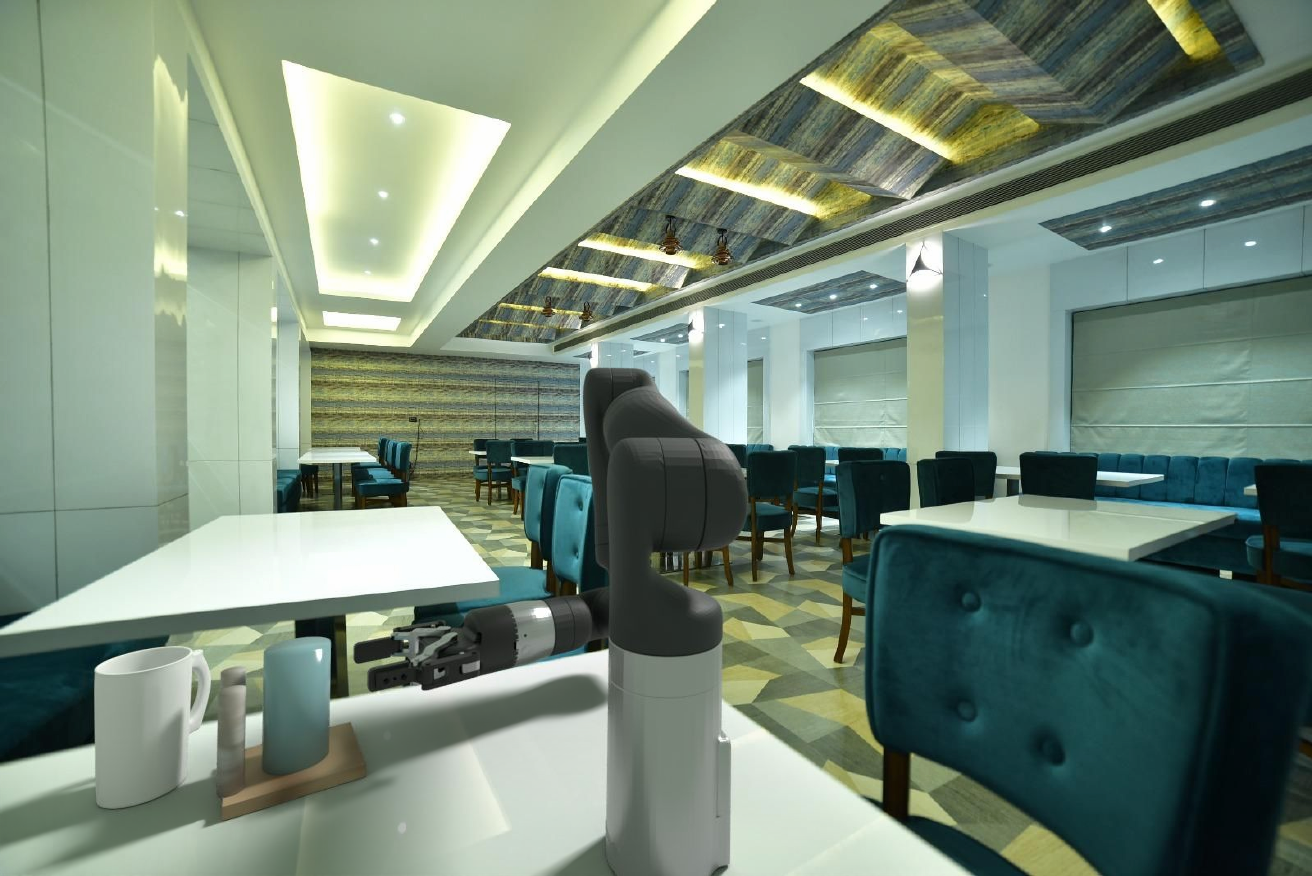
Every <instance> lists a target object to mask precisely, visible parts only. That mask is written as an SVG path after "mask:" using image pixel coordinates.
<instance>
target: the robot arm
mask: <svg viewBox="0 0 1312 876" xmlns="http://www.w3.org/2000/svg"><path fill="white" fill-rule="evenodd" d="M582 386H583V387H582V410H583V411H582V412H583V422H584V423H583V424H584V432H585V433H584V434H585V440H586V450H587V457H588V458H587V459H588V465H589V475H590V478H591V479H590V480H591V485H592V487H591V488H592V493H593V495H592V496H593V506H594V507H593V508H594V509H593V510H594V548H595V549H594V550H595V552H594V553H595V561H596V563H597V564H598V566H599V567H602V568H604V569H605V570H606V571H607V572H608V577H609V586H604V587H597V588H595V589H590V590H585V591H583V592H580V593H575V594H574V595H562V596H556V597H551V598H545V599H538V600H523V601H516V602H509V603H503V604H497V605H493V606H486V607H480V608H475V609H470V610H468V611H467V612H466V613H465V615H464V617H463V622H462V624H461V625H460V626H459V627H451V626H448V625H447V626H446V620H442V619H440V620H436V621H428V622H422V623H417V624H411V625H410V624H409V625H402V626H397V627H394V628H392V633H390V635H388V636H385V637H378V638H374V639H373V638H372V639H369V640H363V641H357V642H356V643H354V644H353V654H352V655H353V656H352V659H353V662H354V663H355V664H357V665H361V664H365V663H370V662H375V661H379V660H384V659H385V660H386V659H388V658H392V657H393V658H399V657H400V658H402V657H405V658H408V659H406V660H401V661H395V662H391V663H386V664H380V665H376V666H372V667H370V668H368V671H367V672H366V673H367V675H366V676H367V677H366V688H367V689H368V691H369V692H371V693H375V692H380V691H383V690H387V689H391V688H392V689H393V688H396V687H400V686H404V685H408V684H409V685H410V686H412V687H417V686H418V687H419V686H421V687H420V688H421V691H423V692H425V691H431V690H435V689H439V688H442V687H447V686H449V685H454V684H456V683H461V682H464V681H468V680H471V679H472V680H473V679H475V678H478V677H481V676H485V675H489V674H494V673H497V672H502V671H505V670H509V669H514V668H517V667H521V666H522V667H523V666H526V665H529V664H533V663H535V662H537V661H540V660H543V659H546V658H550V657H554V656H557V655H561V654H566V653H569V652H574V651H576V650H578V649H580V648H582V647H585V645H586V644H587V643H589V642H591V641H595V640H601V639H608V660H607V661H608V662H607V663H608V667H607V668H608V669H607V670H608V671H607V673H608V674H607V675H608V677H607V679H608V681H607V731H606V732H607V735H606V736H607V740H606V742H607V743H606V746H607V747H606V750H607V751H606V796H605V797H606V800H605V801H606V805H605V807H606V809H605V810H606V815H605V852H606V853H605V855H606V859H607V862H608V864H609V867H610V869H611V870H612V871H613V872H614V874H615V875H616V876H712V875H713V874H714V873H715V871H716V870H717V869H718V868H720V867H724V866H728V865H730V863H731V813H732V812H731V810H732V809H731V808H732V807H731V805H732V803H731V802H732V800H731V799H732V798H731V796H732V795H731V794H732V793H731V791H732V787H731V786H732V744H731V743H732V742H731V740H730V738H729V737H728V736H727V735H726V733H725V732H724V731H723V729H722V728H723V727H722V726H723V725H722V722H723V721H722V720H723V716H722V715H723V708H722V707H723V706H722V705H723V634H724V632H723V631H724V628H723V627H724V618H723V617H724V615H723V611H722V607H721V604H720V602H719V601H718V600H717V599H715V597H713V596H711V595H710V594H708V593H706V592H704V591H702V590H699V589H696V588H693V587H689V586H687V585H684V584H681V583H678V582H675V581H673V580H671V579H669V578H667V577H665V576H664V575H662V574H660V573H659V572H657V570H655V569H654V568H653V567H652V565H651V564H652V563H651V554H654V553H656V554H657V553H658V554H660V553H693V552H695V553H697V552H707V551H715V550H718V549H722V548H725V547H727V546H729V545H730V544H732V543H733V542H734V541H736V539H737V538H738V537H739V536H740V534H741V533H742V531H743V529H744V527H745V525H746V521H747V517H748V511H749V494H748V493H749V492H748V491H749V490H748V487H747V481H746V478H745V474H744V471H743V469H742V467H741V464H740V463H739V460H738V458H737V457H736V455H735V454H734V452H733V450H731V449H730V448H729V446H728V445H727V444H725V442H723V441H722V440H721V439H719V438H717V437H714V436H712V435H711V434H709V433H707V432H706V431H703V430H702V429H700V428H698V427H696V425H695V426H694V424H692V423H691V422H690V421H689V420H688V419H687V418H686V417H684V415H682V414H681V413H680V412H679V411H678V409H677V408H676V407H675V406H674V405H673V404H672V403H671V402H670V401H669V400H668V399H667V398H666V397H664V396H663V395H662V394H661V392H660V390H659V388H658V386H657V383H656V382H655V380H654V378H653V376H652V374H650V372H649V371H647V370H644V369H641V368H635V367H631V368H630V367H593V368H590V369H589V370H587V372H586V373H585V377H584V381H583V384H582Z"/></svg>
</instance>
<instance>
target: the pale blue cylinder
mask: <svg viewBox="0 0 1312 876" xmlns="http://www.w3.org/2000/svg"><path fill="white" fill-rule="evenodd" d="M331 648H332V641H331V639H330V638H327V637H323V636H305V637H304V636H303V637H298V638H291V639H287V640H283V641H280V642H277V643H273V644H272V645H270V646H268V647H267V648H265V649H264V651H263V664H262V665H263V670H262V671H263V673H262V675H263V676H262V677H263V678H262V724H261V725H262V729H261V731H262V733H261V745H262V770H263V771H264V772H265V773H267V774H272V775H284V774H291V773H295V772H299V771H302V770H305V769H307V768H310V767H312V766H314V765H316V764H318V763H319V762H321V761H322V760H323V759H324V758H325V757H326V756H327V755H328V753H329V727H331V726H330V723H331V721H330V720H331V718H330V717H331V715H330V714H331V713H330V712H331V709H330V707H331V664H332V663H331V658H332V657H331V654H332V652H331Z"/></svg>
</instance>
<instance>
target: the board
mask: <svg viewBox="0 0 1312 876" xmlns="http://www.w3.org/2000/svg"><path fill="white" fill-rule="evenodd" d="M219 684H220V685H219V687H220V690H219V691H218V692H217V736H216V737H217V739H216V740H217V743H216V789H215V790H216V793H215V794H216V798H220V799H222V805H221V806H222V811H221V816H222V817H221V822H224V821H227V820H230V819H234V818H237V817H241V816H243V815H246V814H249V813H252V812H255V811H259V810H262V809H263V810H264V809H265V808H269V807H272V806H275V805H278V804H283V803H284V802H288V801H292V800H295V799H298V798H301V797H304V796H307V795H311V794H314V793H317V792H320V791H325V790H326V789H330V788H334V787H336V786H339V785H342V784H346V783H349V782H351V781H352V782H353V781H356V780H359V779H362V778H365V777H366V769H367V768H366V767H367V766H366V765H367V764H366V761H365V759H364V756H363V753H362V750H361V747H360V745H359V742H358V739H357V736H356V733H355V731H354V728H353V725H352V723H351V721H349V722H344V723H340V724H337V725H333V726H329V753H328V755H327V756H326V757H325V758H324V759H323V760H322V761H321V762H319V763H318V764H316V765H314V766H312V767H310V768H307V769H305V770H302V771H299V772H295V773H291V774H284V775H272V774H267V773H265V772H264V771H263V770H262V744H259V745H254V746H250V747H247V748H246V726H247V725H246V723H247V722H246V719H247V718H246V717H247V714H246V712H247V711H246V710H247V667H246V666H243V665H241V666H237V665H236V666H233V667H228V668H225V669H223V670H222V671H220V683H219Z"/></svg>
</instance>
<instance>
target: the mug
mask: <svg viewBox="0 0 1312 876" xmlns="http://www.w3.org/2000/svg"><path fill="white" fill-rule="evenodd" d="M193 672H194V674H195V675H196V677H197V678H196V679H197V691H196V692H197V693H196V696H195V698H194V699H195V700H194V703H193V705H192V707H191V701H192V700H191V699H192V698H191V697H192V682H193V681H192V679H193ZM211 683H212V681H211V671H210V668H209V665H208V662H207V660H206V659H205V656H204V651H203V649H194V650H193V649H192V648H190V647H187V646H182V645H181V646H180V645H179V646H178V645H177V646H176V645H174V646H170V645H169V646H160V647H152V648H148V649H141V650H136V651H132V652H128V653H125V654H122V655H118V656H115V657H112V658H110V659H107V660H105V661H103V662H101V663H100V664H98V665H97V666H96V667H95V668H94V686H93V687H94V695H93V696H94V697H93V698H94V771H95V772H94V773H95V775H94V776H95V777H94V779H95V780H94V782H95V801H96V804H97V806H99V807H101V808H103V809H108V810H109V809H111V810H114V809H115V810H116V809H123V808H130V807H133V806H138V805H140V804H144V803H148V802H149V801H153V800H155V799H158V798H159V797H162V796H164V795H167V794H168V793H169V792H171V791H173V790H175V789H176V788H177V787H179V786H180V785H181V784H182V783H183V782H184V780H186V777H187V775H188V764H189V763H188V761H189V747H190V745H189V744H190V743H189V741H190V735H191V734H192V733H194V732H196V731H198V730H199V729H200V728H201V726H202V722H203V719H204V717H205V712H206V709H207V705H208V703H209V697H210V692H211Z"/></svg>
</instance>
